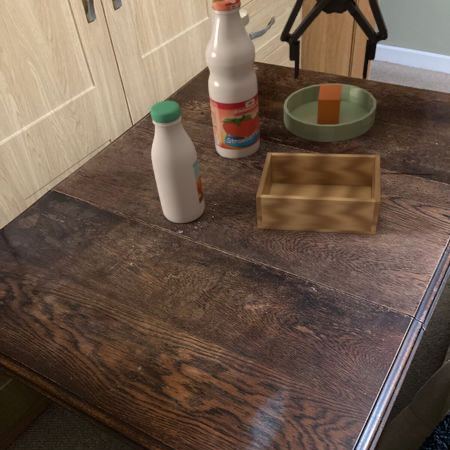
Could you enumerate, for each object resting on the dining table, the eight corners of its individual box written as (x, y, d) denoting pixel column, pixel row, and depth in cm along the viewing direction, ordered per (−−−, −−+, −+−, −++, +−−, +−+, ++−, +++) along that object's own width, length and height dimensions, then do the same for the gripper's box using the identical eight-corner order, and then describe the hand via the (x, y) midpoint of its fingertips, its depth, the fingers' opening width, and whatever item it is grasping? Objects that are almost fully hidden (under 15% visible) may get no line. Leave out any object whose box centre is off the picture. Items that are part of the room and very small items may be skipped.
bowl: (373, 100, 112) (376, 83, 109) (373, 144, 100) (376, 126, 97) (289, 100, 116) (289, 83, 113) (279, 143, 103) (278, 125, 101)
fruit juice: (242, 132, 108) (231, -14, 88) (269, 148, 102) (265, -4, 82) (207, 148, 105) (187, 1, 84) (233, 166, 99) (219, 12, 79)
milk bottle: (196, 227, 87) (177, 120, 72) (157, 221, 89) (131, 116, 75) (211, 201, 92) (196, 96, 77) (173, 196, 94) (152, 93, 79)
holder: (375, 186, 90) (380, 154, 85) (375, 234, 81) (380, 202, 76) (268, 183, 94) (267, 152, 89) (257, 228, 85) (255, 196, 80)
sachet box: (339, 111, 109) (341, 84, 105) (338, 127, 105) (340, 99, 100) (319, 111, 110) (320, 84, 106) (316, 126, 106) (318, 99, 101)
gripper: (264, -38, 85) (267, 84, 101) (416, -45, 80) (394, 84, 96) (270, -50, 90) (272, 68, 106) (413, -57, 85) (393, 68, 101)
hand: (330, 76), depth 101 cm, fingers open, 13 cm apart
